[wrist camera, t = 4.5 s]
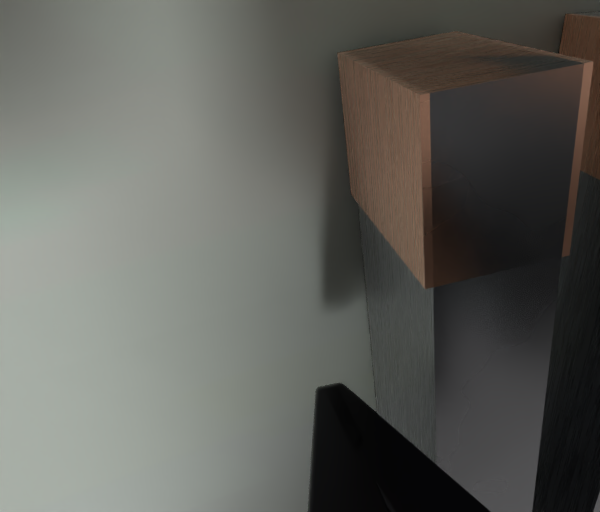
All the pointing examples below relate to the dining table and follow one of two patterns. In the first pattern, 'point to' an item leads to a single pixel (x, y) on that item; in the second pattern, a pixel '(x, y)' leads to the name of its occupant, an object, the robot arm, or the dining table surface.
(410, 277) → the bar
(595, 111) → the frame
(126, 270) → the dining table surface
